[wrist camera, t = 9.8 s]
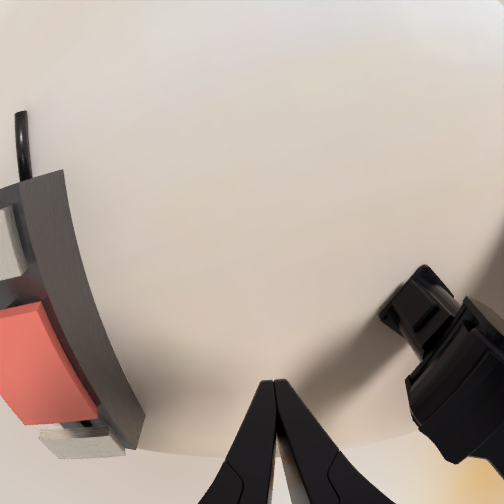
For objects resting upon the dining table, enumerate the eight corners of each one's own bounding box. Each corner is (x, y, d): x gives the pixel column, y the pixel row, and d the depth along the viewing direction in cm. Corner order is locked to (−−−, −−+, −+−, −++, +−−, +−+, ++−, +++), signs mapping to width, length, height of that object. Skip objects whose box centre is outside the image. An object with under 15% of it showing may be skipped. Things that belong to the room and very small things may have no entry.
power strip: (57, 98, 15) (-38, 94, 6) (145, 415, 29) (127, 482, 19) (-12, 133, 15) (-89, 150, 6) (81, 404, 29) (56, 460, 19)
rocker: (41, 301, 16) (36, 310, 15) (97, 407, 20) (97, 418, 19) (-36, 317, 13) (-42, 326, 11) (26, 415, 17) (24, 425, 16)
